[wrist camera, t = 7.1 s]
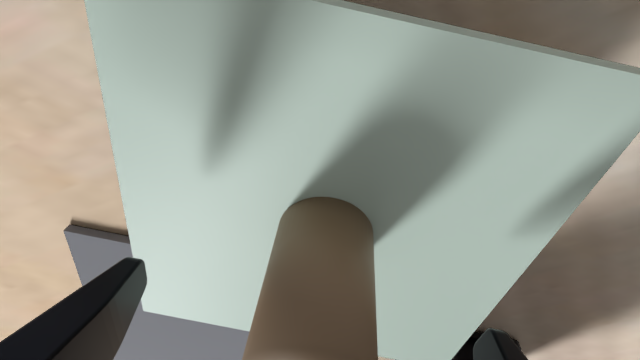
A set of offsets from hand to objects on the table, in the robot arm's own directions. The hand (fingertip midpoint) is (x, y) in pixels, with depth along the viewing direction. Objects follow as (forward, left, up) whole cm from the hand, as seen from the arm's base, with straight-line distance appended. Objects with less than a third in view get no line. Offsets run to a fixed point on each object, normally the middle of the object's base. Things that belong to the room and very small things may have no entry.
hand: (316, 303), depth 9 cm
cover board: (0, 0, -3) cm, 3 cm away
